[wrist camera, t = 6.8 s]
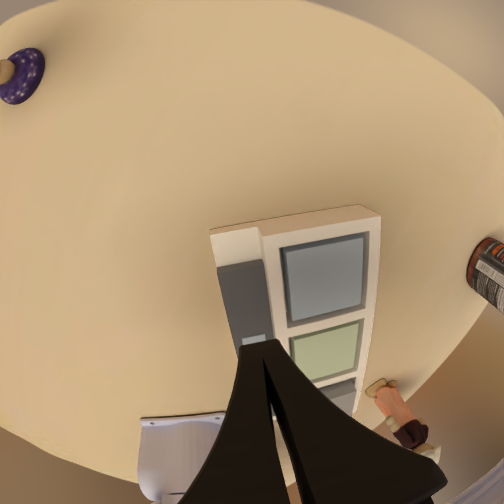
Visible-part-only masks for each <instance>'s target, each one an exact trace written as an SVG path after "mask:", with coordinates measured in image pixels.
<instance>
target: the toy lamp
mask: <svg viewBox="0 0 504 504" xmlns="http://www.w3.org/2000/svg"><path fill="white" fill-rule="evenodd" d="M43 70H44V58H43V55H42V53H41V52H40V51H38V50H37V49H35V48H25V49H22V50H19V51H17V52H16V53H14V54H13V55H11V56H10V57H9V58H8V59H7V60H0V97H1V99H2V100H3V101H5V102H6V103H8V104H13V105H15V104H20V103H22V102H24V101H25V100H26V99H27V98H29V97H30V96H31V95H32V93H33V92H34V90H35V89H36V88H37V86H38V84H39V82H40V80H41V77H42V74H43Z"/></svg>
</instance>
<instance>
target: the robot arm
mask: <svg viewBox="0 0 504 504" xmlns="http://www.w3.org/2000/svg"><path fill="white" fill-rule="evenodd" d="M271 405H272V408H273V411H274V413H275V416H276V419H277V422H278V425H279V428H280V430H281V433H282V436H283V439H284V441H285V444H286V447H287V450H288V453H289V456H290V459H291V462H292V466H293V470H294V474H295V478H296V482H297V486H298V490H299V494H300V498H301V502H302V504H434V502H433V500H432V498H431V496H432V495H433V494H435V493H436V492H438V491H439V490H440V489H442V488H443V487H444V486H446V484H447V482H448V481H447V479H446V477H445V475H444V473H443V472H442V470H441V469H440V468H439V466H438V465H437V464H436V463H435V462H434V460H433V459H431V458H429V457H426V456H423V455H421V454H418V453H415V452H413V451H411V450H408V449H406V448H404V447H401V446H399V445H397V444H395V443H393V442H391V441H389V440H387V439H385V438H384V437H382V436H380V435H379V434H377V433H375V432H373V431H372V430H370V429H368V428H367V427H365V426H364V425H362V424H360V423H359V422H358V421H356V420H355V419H353V418H352V417H351V416H349V415H348V414H347V413H345V412H344V411H343V410H341V409H340V408H339V407H338V406H336V405H335V404H334V403H333V402H332V401H331V400H330V399H328V398H327V397H326V396H325V395H324V394H323V393H322V392H321V391H320V390H319V389H318V388H317V387H316V386H315V385H314V384H313V383H312V382H311V381H310V380H309V379H308V378H307V377H306V376H305V374H304V373H303V372H302V371H301V370H300V369H299V368H298V366H297V365H296V364H295V363H294V361H293V360H292V359H291V358H290V356H289V355H288V353H287V352H286V351H285V349H284V347H283V346H282V344H281V343H280V341H279V340H278V339H276V338H275V339H271V340H266V341H261V342H256V343H251V344H246V345H241V346H240V347H239V357H238V366H237V372H236V378H235V382H234V386H233V390H232V395H231V398H230V401H229V404H228V408H227V411H226V413H224V412H221V413H213V414H205V415H196V416H185V417H171V418H150V419H140V422H139V423H140V424H141V426H142V432H141V440H140V448H139V457H138V467H137V475H138V481H139V485H140V488H141V490H142V492H143V494H144V495H145V496H146V497H147V498H148V499H149V500H152V501H154V502H153V503H151V504H160V502H162V504H290V500H289V497H288V493H287V489H286V485H285V481H284V477H283V473H282V469H281V465H280V460H279V456H278V452H277V448H276V440H275V432H274V425H273V417H272V409H271ZM446 504H504V458H503V459H502V460H501V461H500V462H499V463H498V464H497V465H496V466H495V467H494V468H493V469H491V470H490V471H489V472H488V473H487V474H486V475H485V476H483V477H482V478H481V479H479V480H478V481H477V482H476V483H475V484H473V485H472V486H470V487H469V488H468V489H467V490H465V491H464V492H462V493H461V494H459V495H458V496H457V497H455V498H454V499H452V500H451V501H449V502H448V503H446Z"/></svg>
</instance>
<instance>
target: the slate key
mask: <svg viewBox="0 0 504 504" xmlns="http://www.w3.org/2000/svg"><path fill="white" fill-rule="evenodd" d="M281 252H282V261H283V271H284V280H285V290H286V300H287V309H288V312H289V314H290V316H291V319H292V321H295V320H299V319H304V318H308V317H312V316H316V315H320V314H324V313H328V312H332V311H336V310H340V309H344V308H347V307H351V306H355V305H358V304H360V302H361V287H362V267H363V237H362V236H360V235H359V234H358V233H355V234H350V235H344V236H339V237H334V238H328V239H323V240H318V241H313V242H307V243H302V244H297V245H291V246H286V247H281Z"/></svg>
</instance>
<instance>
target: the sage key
mask: <svg viewBox="0 0 504 504" xmlns="http://www.w3.org/2000/svg"><path fill="white" fill-rule="evenodd" d="M358 324H359V323H358V322H357V320H355V321H351V322H348V323H344V324H341V325H337V326H333V327H330V328H326V329H322V330H318V331H314V332H310V333H306V334H302V335H298V336H293V337H290V345H291V357H292V360H293V361H294V363H295V364H296V365H297V366H298V368H299V369H300V370H301V371H302V372H303V373H304V374H305V376H306V377H307V378H308V379H309V380H313V379H316V378H320V377H324V376H327V375H331V374H334V373H337V372H341V371H344V370H347V369H350V368H353V366H354V359H355V351H356V343H357V334H358Z"/></svg>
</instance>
